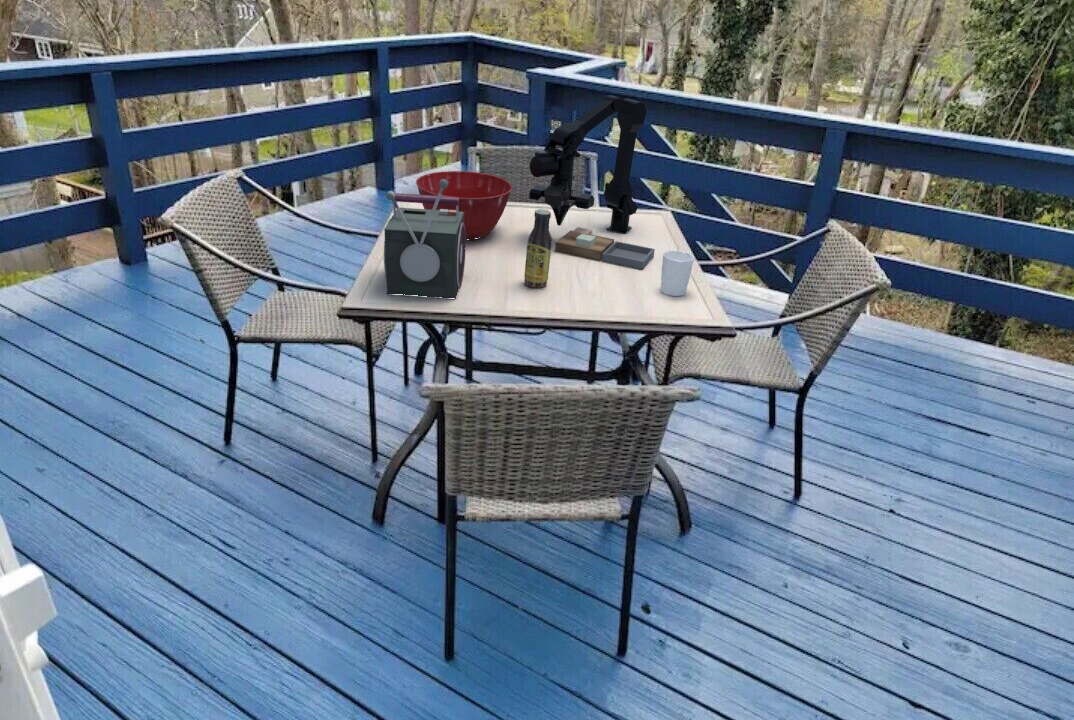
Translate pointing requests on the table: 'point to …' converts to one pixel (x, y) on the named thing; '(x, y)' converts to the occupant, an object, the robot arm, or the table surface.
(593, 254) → the walnut board
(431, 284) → the boombox
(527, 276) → the sauce bottle
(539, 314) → the table surface
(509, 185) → the mixing bowl
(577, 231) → the terracotta tile
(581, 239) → the sage tile
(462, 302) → the table surface
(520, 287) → the table surface
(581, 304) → the table surface
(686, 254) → the white cup
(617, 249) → the tray
